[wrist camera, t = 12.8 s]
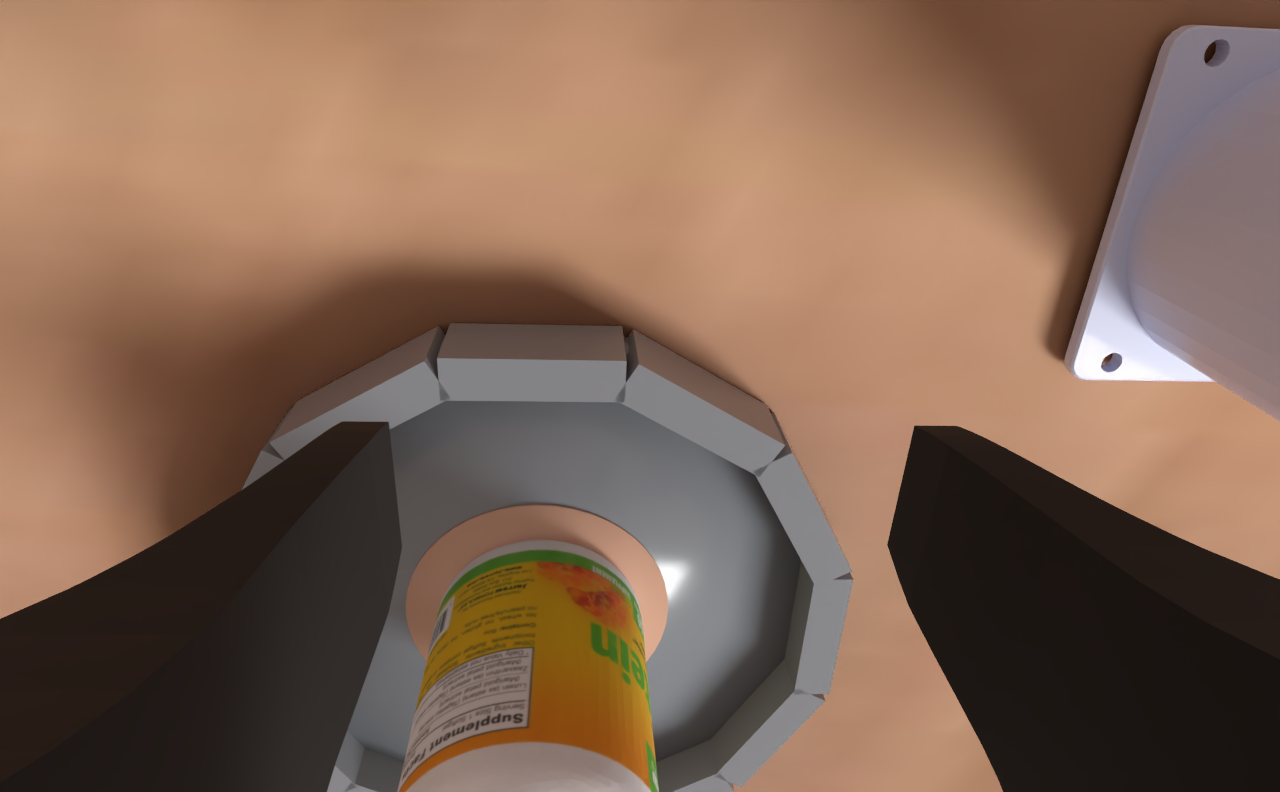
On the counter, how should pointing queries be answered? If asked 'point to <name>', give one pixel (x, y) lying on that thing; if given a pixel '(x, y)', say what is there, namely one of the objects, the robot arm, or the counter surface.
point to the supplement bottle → (534, 679)
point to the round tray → (598, 528)
